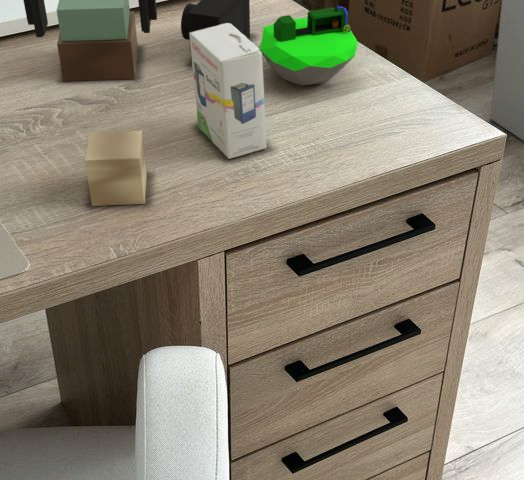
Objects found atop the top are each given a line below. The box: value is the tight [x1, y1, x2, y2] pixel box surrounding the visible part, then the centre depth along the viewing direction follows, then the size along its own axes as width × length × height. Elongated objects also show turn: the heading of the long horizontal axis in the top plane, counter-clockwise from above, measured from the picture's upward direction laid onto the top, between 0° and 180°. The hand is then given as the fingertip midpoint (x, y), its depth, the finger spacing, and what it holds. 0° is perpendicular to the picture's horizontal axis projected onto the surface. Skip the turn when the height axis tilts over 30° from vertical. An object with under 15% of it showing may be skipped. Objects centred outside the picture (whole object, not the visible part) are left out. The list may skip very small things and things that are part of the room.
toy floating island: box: [259, 0, 359, 86], centre depth 116 cm, size 12×12×11 cm
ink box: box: [189, 23, 267, 160], centre depth 105 cm, size 9×5×12 cm, turn 27°
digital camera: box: [180, 0, 251, 65], centre depth 123 cm, size 10×5×7 cm, turn 160°
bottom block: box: [56, 10, 139, 82], centre depth 121 cm, size 9×9×5 cm
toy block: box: [84, 130, 148, 207], centre depth 99 cm, size 6×6×6 cm
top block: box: [56, 0, 131, 41], centre depth 118 cm, size 8×8×4 cm
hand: (94, 29), depth 88 cm, fingers open, 9 cm apart
